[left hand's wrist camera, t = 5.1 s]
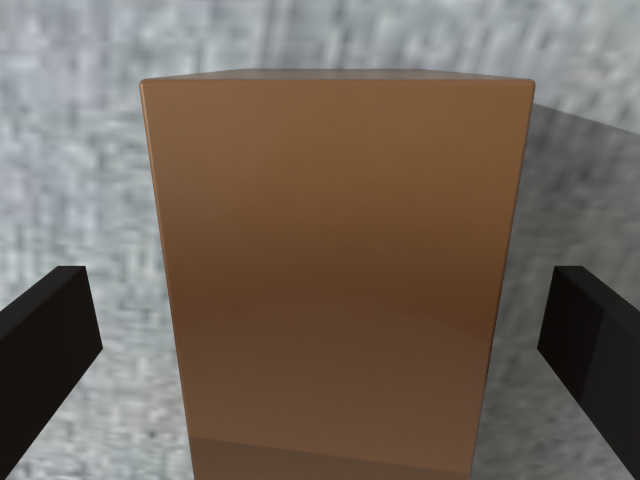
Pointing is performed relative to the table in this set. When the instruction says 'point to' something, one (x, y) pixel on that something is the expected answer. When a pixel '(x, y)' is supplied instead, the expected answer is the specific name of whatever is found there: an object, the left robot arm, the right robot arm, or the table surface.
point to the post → (334, 263)
